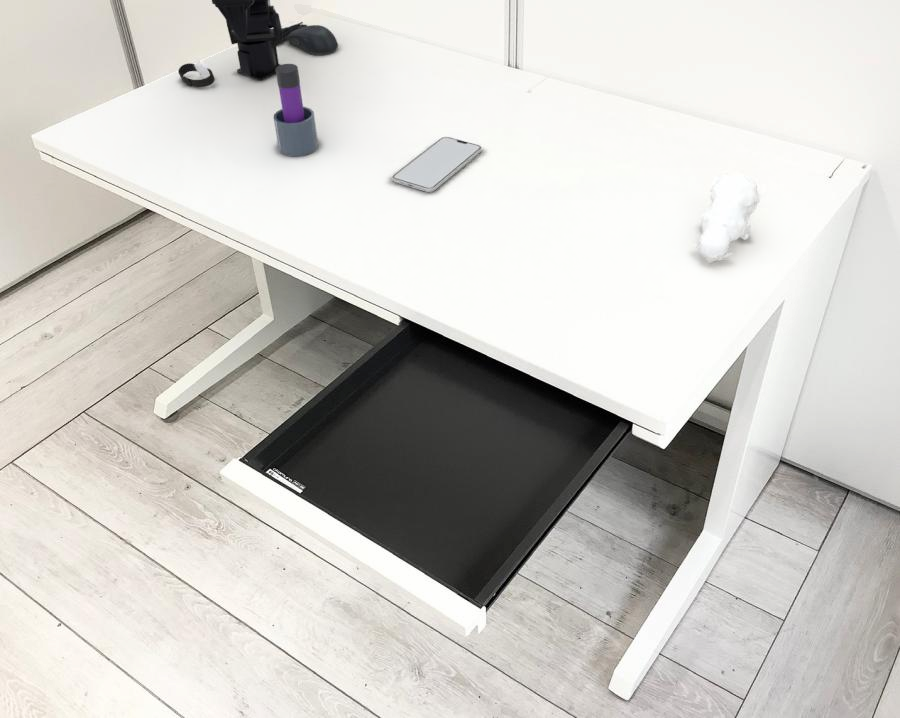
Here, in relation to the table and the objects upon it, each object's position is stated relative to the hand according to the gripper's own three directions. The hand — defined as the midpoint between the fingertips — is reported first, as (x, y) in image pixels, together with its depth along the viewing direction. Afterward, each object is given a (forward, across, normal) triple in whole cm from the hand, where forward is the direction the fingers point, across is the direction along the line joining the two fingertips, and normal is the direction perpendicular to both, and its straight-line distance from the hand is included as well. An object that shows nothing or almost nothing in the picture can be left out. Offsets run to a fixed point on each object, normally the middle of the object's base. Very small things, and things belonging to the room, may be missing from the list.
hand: (245, 29), depth 145 cm
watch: (+13, +11, +11) cm, 21 cm away
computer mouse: (+13, +25, -8) cm, 30 cm away
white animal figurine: (+13, -54, -62) cm, 84 cm away
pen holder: (+13, -17, -7) cm, 22 cm away
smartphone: (+13, -27, -28) cm, 41 cm away
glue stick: (+12, -17, -7) cm, 22 cm away
